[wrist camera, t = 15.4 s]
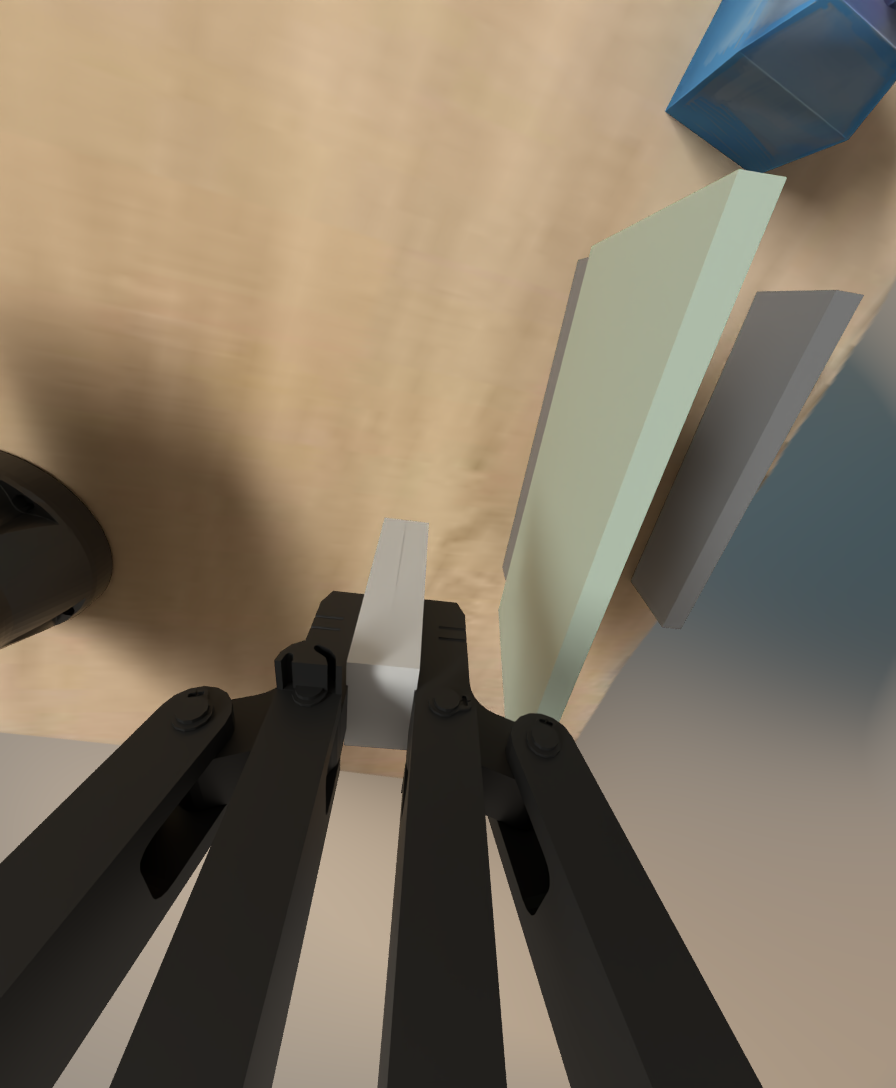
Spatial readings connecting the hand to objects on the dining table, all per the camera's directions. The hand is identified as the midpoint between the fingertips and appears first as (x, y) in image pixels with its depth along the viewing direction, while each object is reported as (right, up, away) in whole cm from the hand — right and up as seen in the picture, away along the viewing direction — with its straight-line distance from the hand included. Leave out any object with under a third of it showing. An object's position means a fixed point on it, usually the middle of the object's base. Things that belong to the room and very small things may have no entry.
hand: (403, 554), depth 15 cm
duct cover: (+7, +2, +5) cm, 9 cm away
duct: (+14, +7, +16) cm, 23 cm away
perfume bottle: (+17, +24, +7) cm, 30 cm away
